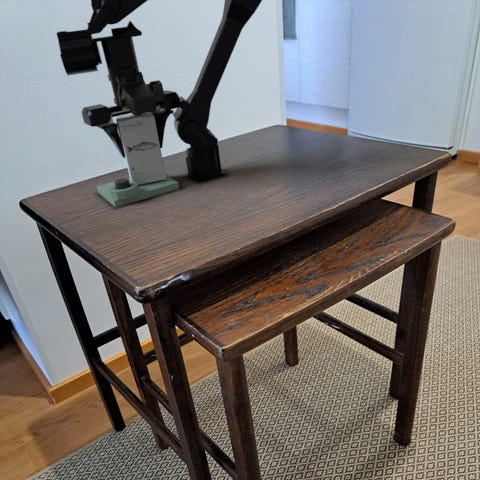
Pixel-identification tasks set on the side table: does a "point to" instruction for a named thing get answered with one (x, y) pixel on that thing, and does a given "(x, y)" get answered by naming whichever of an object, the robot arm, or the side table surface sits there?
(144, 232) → the side table surface
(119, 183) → the button
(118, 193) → the scale
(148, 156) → the white packaging box
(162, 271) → the side table surface
